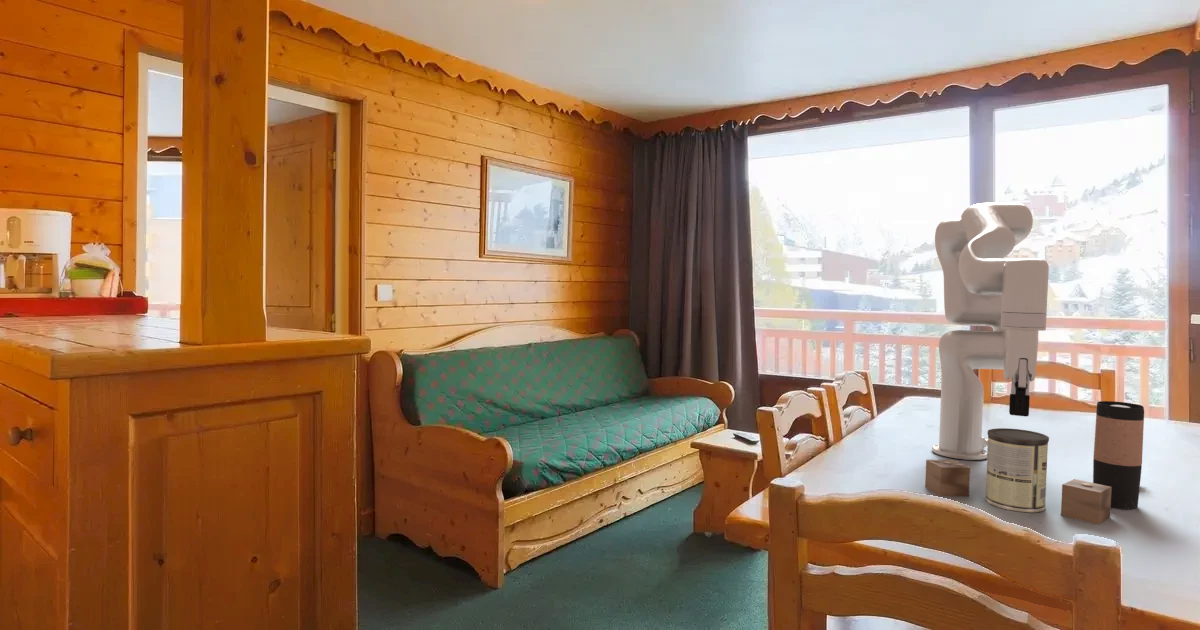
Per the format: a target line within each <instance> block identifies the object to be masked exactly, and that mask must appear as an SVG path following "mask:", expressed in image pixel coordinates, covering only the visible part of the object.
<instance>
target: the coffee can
mask: <svg viewBox="0 0 1200 630" xmlns="http://www.w3.org/2000/svg"><path fill="white" fill-rule="evenodd" d="M987 439H988V446H987V449H986V451H987V458H986V479H985V480H986V484H985V498H984V500H985V502H986V503H988V504H989V505H991V506H994V507H996V508H999V509H1003V510H1007V511H1012V512H1019V513H1041V512H1044V511H1046V496H1047V491H1046V490H1047V476H1048V475H1047V469H1048V451H1049V450H1048V449H1049V448H1048V447H1049V441H1050V437H1049V436H1048V435H1046V434H1044V433H1041V432H1038V431H1037V432H1036V431H1032V430H1026V429H1018V428H1008V427H1007V428H1005V427H1004V428H1002V427H1001V428H999V427H998V428H991V429H988V430H987Z"/></svg>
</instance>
